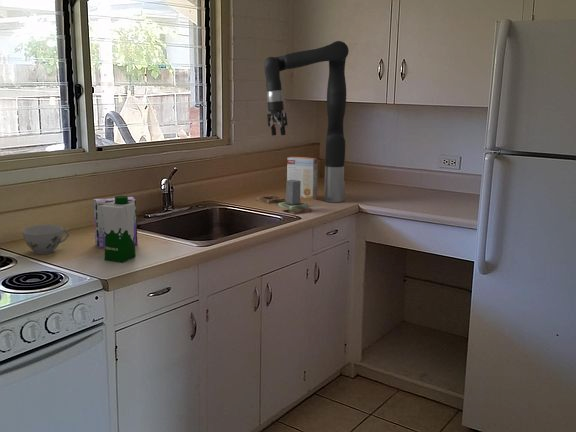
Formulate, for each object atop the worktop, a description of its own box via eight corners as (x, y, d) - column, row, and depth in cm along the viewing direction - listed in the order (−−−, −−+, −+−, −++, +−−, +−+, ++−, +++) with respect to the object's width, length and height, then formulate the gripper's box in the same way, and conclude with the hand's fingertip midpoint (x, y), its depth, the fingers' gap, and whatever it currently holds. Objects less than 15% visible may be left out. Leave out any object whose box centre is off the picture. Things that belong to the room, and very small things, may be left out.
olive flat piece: (271, 200, 297) (271, 194, 297) (311, 211, 274) (311, 205, 274) (254, 203, 291) (254, 196, 291) (294, 214, 268) (294, 207, 268)
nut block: (293, 205, 279) (294, 179, 277) (300, 207, 276) (300, 181, 273) (286, 206, 277) (286, 180, 274) (292, 208, 273) (292, 181, 271)
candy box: (97, 248, 210) (94, 201, 206) (95, 244, 215) (92, 198, 211) (138, 245, 215) (136, 199, 212) (135, 241, 220) (133, 196, 217)
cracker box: (317, 200, 301) (318, 157, 297) (312, 202, 296) (313, 159, 291) (291, 197, 307) (292, 155, 302) (286, 199, 301) (286, 157, 297)
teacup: (32, 259, 196) (30, 235, 194) (18, 251, 205) (16, 228, 203) (77, 251, 206) (76, 228, 204) (62, 243, 215) (61, 221, 213)
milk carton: (139, 256, 201) (137, 196, 197) (122, 264, 193) (120, 201, 188) (117, 253, 204) (114, 194, 200) (99, 260, 196) (96, 199, 192)
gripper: (289, 99, 284) (293, 134, 287) (274, 100, 296) (277, 134, 299) (276, 100, 280) (279, 136, 283) (260, 102, 292) (264, 136, 295)
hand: (278, 135), depth 291 cm, fingers open, 8 cm apart
